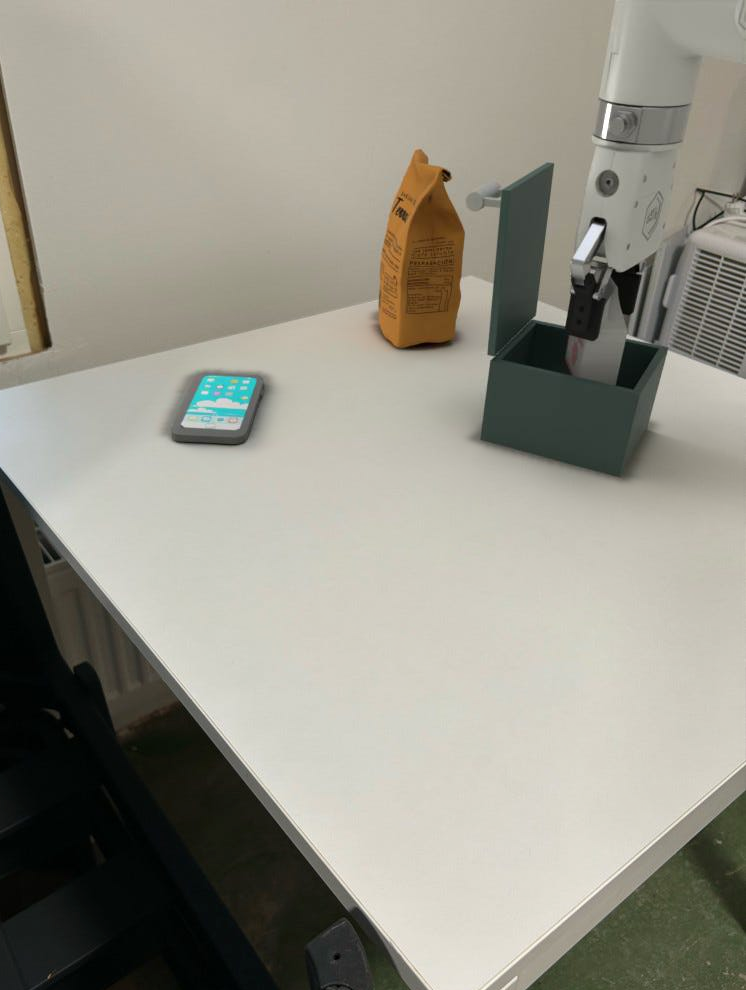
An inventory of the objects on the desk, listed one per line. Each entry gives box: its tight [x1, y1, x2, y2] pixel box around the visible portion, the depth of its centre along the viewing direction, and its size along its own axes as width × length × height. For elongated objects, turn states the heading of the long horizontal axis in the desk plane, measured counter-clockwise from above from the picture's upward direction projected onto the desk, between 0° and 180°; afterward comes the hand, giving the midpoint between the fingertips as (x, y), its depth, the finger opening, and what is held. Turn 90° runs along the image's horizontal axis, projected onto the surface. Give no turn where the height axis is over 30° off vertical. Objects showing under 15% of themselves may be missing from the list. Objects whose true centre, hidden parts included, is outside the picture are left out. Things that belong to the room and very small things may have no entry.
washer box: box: [479, 318, 669, 478], centre depth 86 cm, size 15×13×10 cm
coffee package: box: [377, 148, 466, 349], centre depth 105 cm, size 10×12×22 cm
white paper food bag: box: [565, 270, 629, 385], centre depth 81 cm, size 4×7×10 cm, turn 177°
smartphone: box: [170, 372, 265, 445], centre depth 93 cm, size 9×1×15 cm
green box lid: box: [465, 162, 555, 357], centre depth 82 cm, size 15×13×6 cm
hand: (599, 322), depth 80 cm, fingers closed on white paper food bag, 7 cm apart
